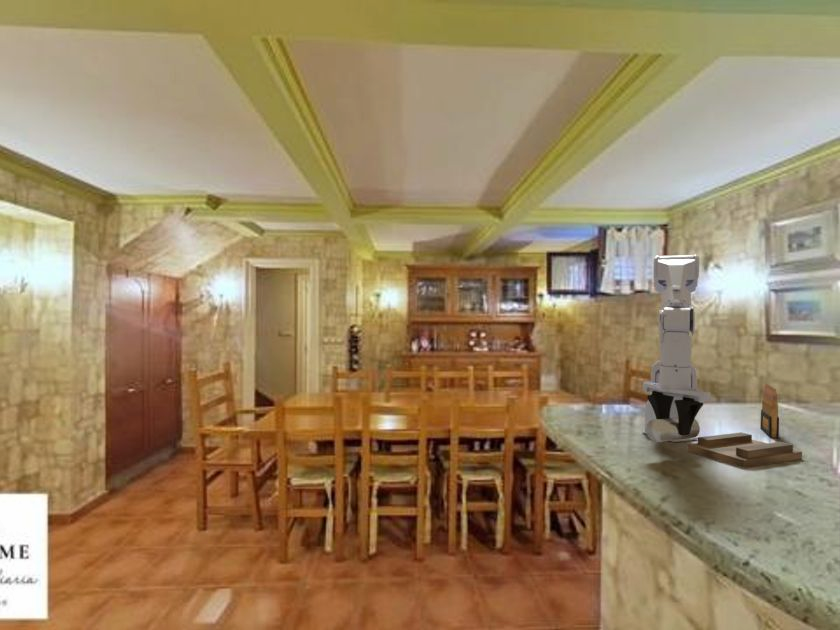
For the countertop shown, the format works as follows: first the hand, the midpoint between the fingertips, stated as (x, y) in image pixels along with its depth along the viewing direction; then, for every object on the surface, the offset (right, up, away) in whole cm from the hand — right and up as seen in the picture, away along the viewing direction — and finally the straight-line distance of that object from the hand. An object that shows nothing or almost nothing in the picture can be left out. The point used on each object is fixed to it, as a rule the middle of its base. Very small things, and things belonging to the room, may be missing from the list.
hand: (673, 431), depth 101 cm
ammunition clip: (+36, -6, +23) cm, 43 cm away
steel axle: (0, +1, 0) cm, 1 cm away
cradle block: (+16, -6, +2) cm, 17 cm away
